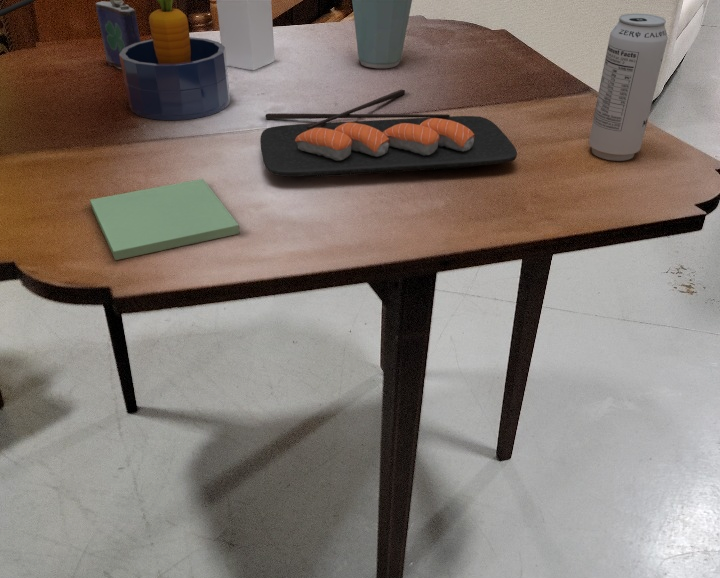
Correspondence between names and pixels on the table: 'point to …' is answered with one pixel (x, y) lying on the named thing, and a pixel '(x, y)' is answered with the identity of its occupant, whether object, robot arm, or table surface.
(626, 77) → the energy drink can
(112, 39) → the flask
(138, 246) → the mat
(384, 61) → the disposable coffee cup
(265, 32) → the milk
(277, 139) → the sushi plate
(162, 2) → the carrot
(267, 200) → the table surface
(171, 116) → the pot
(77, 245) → the table surface
